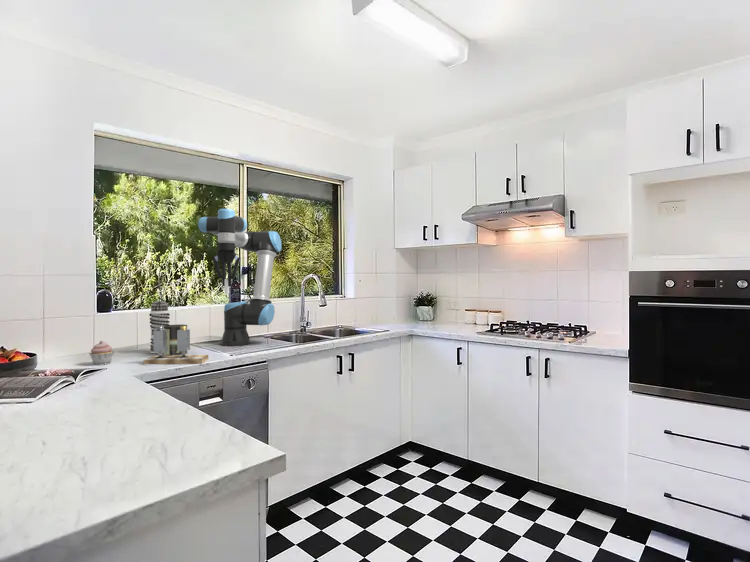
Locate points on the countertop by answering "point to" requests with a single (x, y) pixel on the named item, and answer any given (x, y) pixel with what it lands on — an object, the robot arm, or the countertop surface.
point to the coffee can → (172, 340)
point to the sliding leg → (183, 340)
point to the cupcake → (101, 353)
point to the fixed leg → (159, 341)
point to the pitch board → (176, 359)
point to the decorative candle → (158, 318)
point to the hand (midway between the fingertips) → (226, 293)
